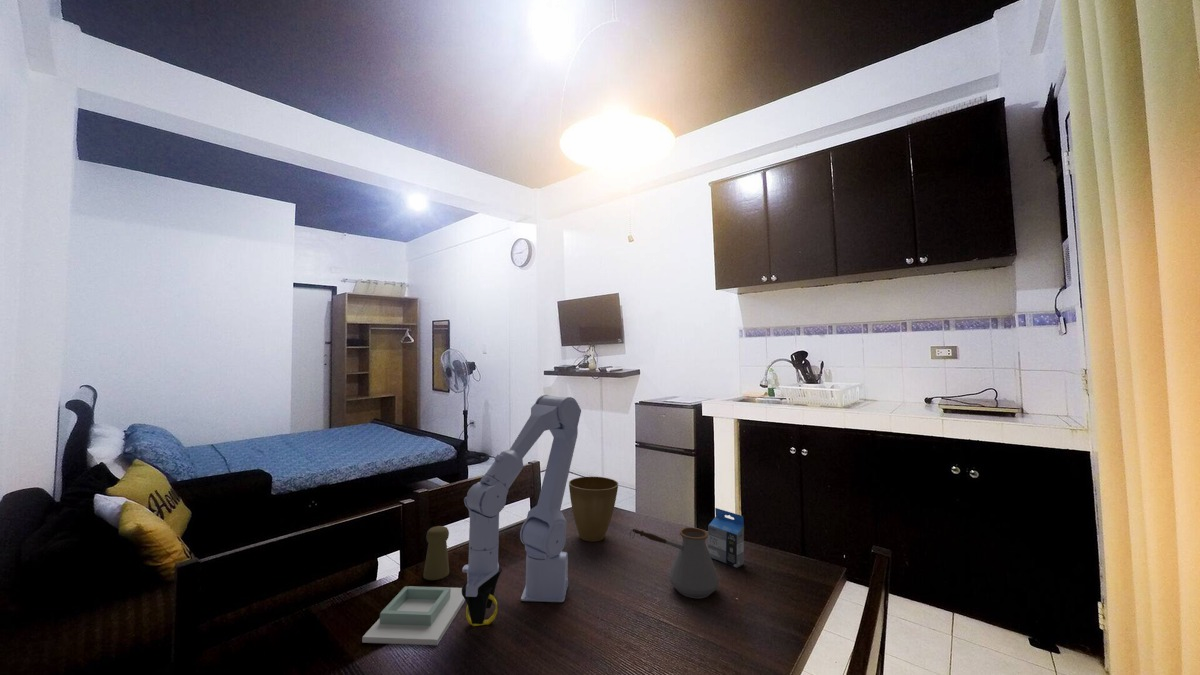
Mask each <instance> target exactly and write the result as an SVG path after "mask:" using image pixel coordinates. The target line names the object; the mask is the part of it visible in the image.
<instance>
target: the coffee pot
mask: <svg viewBox="0 0 1200 675" xmlns="http://www.w3.org/2000/svg"><path fill="white" fill-rule="evenodd" d="M632 532H633V536H631V534H632ZM679 534H680V536H681V538H682V541H681V543H676V542H673V541H670V540H667V539H666V538H663V537H661V536H658V535H656V534H653V533H651V532H646V531H645V530H639V529H636V528H633V529H631V530H630V532H629V538H630V539H634V538H635V535H640V537H645V538H647V539H649V540H651V541H654V542H658V543H662V544H666V545H668V546H670V547H673V548H676V549H678V551H677V553H676V555H675V557H674V560H673V562H672V564H671V566H670V569H669V572H668V578H669V581H670V582H671V584H672V586H673V587H674V588H675V589H676V590H677V592H678V593H679V594H680V595H683V596H684V597H687V598H689V599H690V598H691V599H697V600H698V599H704V598H707V597H709V596H710V595H711V594H713V593H714V592H715V591H716V590H717V589H718V587H719V584H720V578H719V574H718V572H717V569H716V566H715V565H714V562H713V560H712V559H713V558H711V557H710V554H709V552H708V546H707V545H706V540H707V539H708V532H707V531H706V530H703V529H701V528H697V527H688V526H687V527H684V528H681V529H680V531H679Z"/></svg>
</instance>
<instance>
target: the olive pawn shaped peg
mask: <svg viewBox="0 0 1200 675" xmlns="http://www.w3.org/2000/svg"><path fill="white" fill-rule="evenodd" d="M449 535H450V531H449V529H448V527H447V526H443V525H437V526H433V527H430V528H429V529H428V530H427V532H426V536H425V538H426V542H427V543H428V545H427V550H426V556H425V561H424V567H423V575H422V577H423V579H425V580H426V581H427V580H428V581H435V580H436V581H437V580H440V579H441V580H442V579H444V578H446V577H448V575H450V566H449V565H450V564H449V563H450V562H449V555H448V545H447V541H448V539H449Z"/></svg>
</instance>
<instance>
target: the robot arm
mask: <svg viewBox="0 0 1200 675" xmlns="http://www.w3.org/2000/svg"><path fill="white" fill-rule="evenodd" d="M581 413H582V409H581V407H580V405H579V403H578V401H577V400H576V399H575V397H572V396H567V397H565V396H554V395H548V394H543V395H540V396H539V397H537V399H536V401H535V403H534V404H533V405H532V406H531V408H530V415H529V417H528V419H527V421H526V422H525V424H524V426H523V427H522V429H521V430H520V432H519V433H518V435H517V437H516V439H515V440H514V442H513V444H512V445H511V447H510V448H509V449H507V450H504V451H501V452H500V453H499V454H496V456H495V457H494V461H493V462H492V464H491V465H490V467H489V468H488V470H487V471H486V473H485V474H484V475H482V477H481V479H480V481H478V482H476V483H474V484H472V486H471V487H470V488H469V489H468V491H467V492H466V493H467V494H466V496H465V497H464V498H463V502H464V505H465V507H466V508H467V510H468V518H469V535H468V564H465V565H464V566H463V567H462V569H461V572H462V573H463V574H465V573H466V578H467V579H466V580H467V583H464V585H463V586H462V587H461V588H462V595H463V597H464V598H465V603H466V606H467V605H468V608H469V610H468V613H469V616H470V618H471V622H472V624H483V621H484V620H485V617H486V612H487V609H491V607H492V605H493V601H492V600H491V599H489V595H490V594H491V595H493V596H494V597H495V592H496V588H497V583H498V581H499V578H500V576H501V573H502V572H503V567H501V566H499V535H500V533H499V532H500V530H499V529H500V513H501V512H502V510H504V508H505V507H506V503H507V495H508V494H509V489H510V487H512V484H513V483H514V482H515V481H516V479H517V477H518V476H519V475H520V473H521V471H522V470H523V469H524V462H523V460H524V459H523V458H524V457H525V456H526V455H527V454H528V452H529V451H530V450H531V448H532V447H533V446H534V445H535V444H536V442H537V441H538V439H539V438H540V437H541V436H542V435H543V433H544V432H545V431H549V432H550V434H551V435H552V437H553V439H552V443H551V446H550V451H549V455H548V459H547V463H546V468H545V472H544V477H543V480H542V484H541V489H540V493H539V496H538V501H537V504H536V505H535V506H533V507H532V508H531V509H530V510H528V512H527V515H526V519H525V521H523V524H522V525H521V527H520V532H519V539H520V541H521V543H522V544H523V545H524V550H525V551H526V558H525V561H526V562H525V564H526V565H525V586H524V589H523V592H522V594H521V597H520V601H522V602H542V603H543V602H546V603H563V602H565V599H566V595H567V590H568V586H569V578H568V577H569V576H568V572H569V571H568V570H569V566H568V565H569V555H568V552H567V551H563V549H564V547H565V545H566V541H567V534H566V532H567V531H566V530H567V523H568V522H567V519H566V518H565V516H564V514H563V511H562V510H561V509H562V504H563V499H564V495H565V491H566V486H567V482H568V478H569V474H570V470H571V465H572V461H573V457H574V453H575V448H576V443H577V439H578V433H579V432H578V431H579V428H578V427H579V424H580V423H579V422H580V418H581Z"/></svg>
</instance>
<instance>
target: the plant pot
mask: <svg viewBox="0 0 1200 675" xmlns="http://www.w3.org/2000/svg"><path fill="white" fill-rule="evenodd" d="M568 488H569V498H570V504H571V509H572V514H573V518H574V522H575V526H576V529H577V533H578V535H579V539H581V540H583V541H586V542H592V543H593V542H600V541H602V540H604V539H605V537H606V535H607V532H608V528H609V526H610V524H611V521H612V518H613V513H614V510H615V506H616V500H617V496H618V495H617V494H618V489H619V482H618V481H616V480H615V479H612V478H608V477H603V476H581V477H576V478H572V479H571V480H569V481H568Z"/></svg>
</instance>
